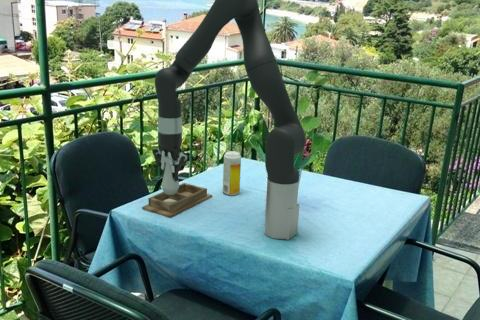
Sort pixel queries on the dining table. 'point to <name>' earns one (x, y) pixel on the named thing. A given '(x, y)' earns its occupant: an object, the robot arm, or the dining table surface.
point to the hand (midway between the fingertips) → (170, 180)
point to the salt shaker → (169, 179)
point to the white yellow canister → (231, 173)
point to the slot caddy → (177, 200)
